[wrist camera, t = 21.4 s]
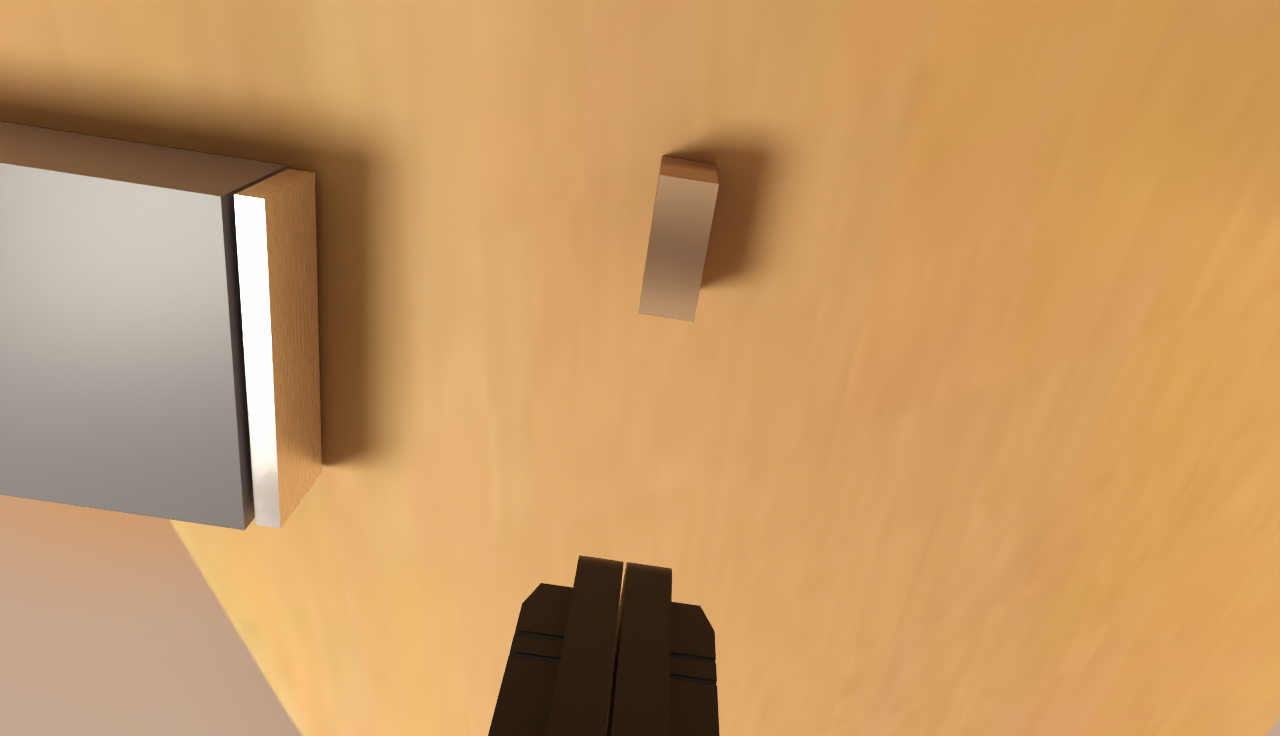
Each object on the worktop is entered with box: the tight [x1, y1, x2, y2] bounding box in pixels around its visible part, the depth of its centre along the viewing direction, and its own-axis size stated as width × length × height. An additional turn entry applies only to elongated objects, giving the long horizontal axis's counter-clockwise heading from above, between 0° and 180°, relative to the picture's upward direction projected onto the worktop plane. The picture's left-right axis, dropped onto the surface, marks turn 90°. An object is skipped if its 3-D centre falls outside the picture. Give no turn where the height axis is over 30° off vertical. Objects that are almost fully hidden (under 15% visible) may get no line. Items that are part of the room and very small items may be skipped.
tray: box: [234, 169, 322, 528], centre depth 39 cm, size 16×16×5 cm
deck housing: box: [0, 121, 287, 530], centre depth 39 cm, size 16×16×6 cm
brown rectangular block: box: [639, 156, 719, 322], centre depth 37 cm, size 6×2×4 cm, turn 172°
